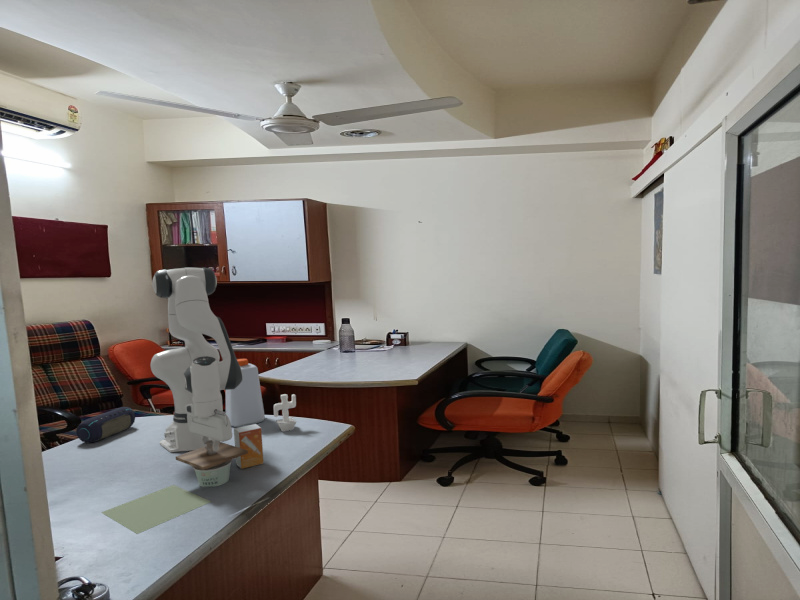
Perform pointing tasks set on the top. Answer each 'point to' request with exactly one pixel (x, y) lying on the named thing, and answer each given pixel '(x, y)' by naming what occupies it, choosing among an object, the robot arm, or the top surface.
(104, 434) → the portable speaker
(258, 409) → the plastic bottle
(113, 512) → the olive mat
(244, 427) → the small box
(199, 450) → the walnut lid
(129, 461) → the top surface
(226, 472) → the food container
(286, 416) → the figurine
